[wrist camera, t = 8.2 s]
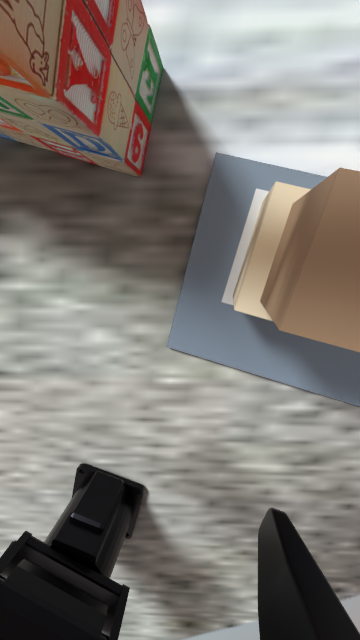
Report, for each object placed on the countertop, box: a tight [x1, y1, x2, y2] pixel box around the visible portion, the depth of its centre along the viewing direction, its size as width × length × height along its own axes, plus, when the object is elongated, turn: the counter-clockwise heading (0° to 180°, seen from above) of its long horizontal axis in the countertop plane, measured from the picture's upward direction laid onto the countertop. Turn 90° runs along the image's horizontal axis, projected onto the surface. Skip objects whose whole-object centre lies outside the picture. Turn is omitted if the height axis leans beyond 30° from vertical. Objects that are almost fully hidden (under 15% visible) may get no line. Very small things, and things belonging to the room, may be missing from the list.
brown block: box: [260, 168, 360, 352], centre depth 9 cm, size 4×4×5 cm
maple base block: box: [233, 181, 311, 321], centre depth 14 cm, size 6×6×4 cm
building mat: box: [167, 153, 360, 407], centre depth 17 cm, size 13×15×1 cm
